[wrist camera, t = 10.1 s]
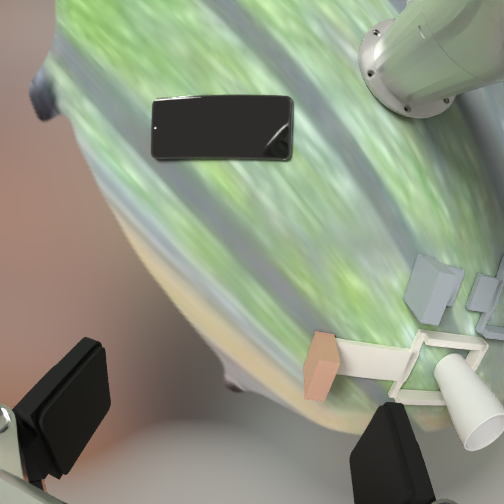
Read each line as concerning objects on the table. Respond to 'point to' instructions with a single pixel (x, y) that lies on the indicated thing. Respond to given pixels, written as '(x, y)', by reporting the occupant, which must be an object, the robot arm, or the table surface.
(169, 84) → the table surface
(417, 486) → the robot arm
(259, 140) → the smartphone
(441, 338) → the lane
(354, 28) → the table surface
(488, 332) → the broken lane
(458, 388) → the drinking glass
